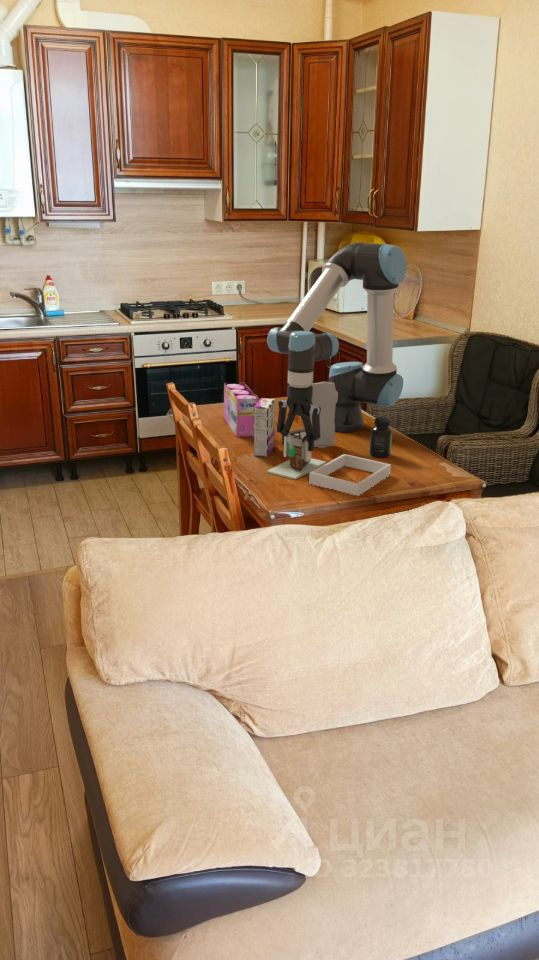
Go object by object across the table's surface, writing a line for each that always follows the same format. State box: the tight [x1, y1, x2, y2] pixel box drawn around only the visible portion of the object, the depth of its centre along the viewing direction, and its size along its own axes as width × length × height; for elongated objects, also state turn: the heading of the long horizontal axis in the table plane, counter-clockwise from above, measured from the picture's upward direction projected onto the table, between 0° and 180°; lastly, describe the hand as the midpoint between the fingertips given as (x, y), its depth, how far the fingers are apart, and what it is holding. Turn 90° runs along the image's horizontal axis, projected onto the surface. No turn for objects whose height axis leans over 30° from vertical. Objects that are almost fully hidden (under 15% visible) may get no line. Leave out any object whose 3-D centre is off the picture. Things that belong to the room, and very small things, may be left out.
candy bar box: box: [253, 397, 276, 458], centre depth 250 cm, size 11×5×16 cm, turn 168°
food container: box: [287, 428, 310, 470], centre depth 237 cm, size 12×6×10 cm, turn 161°
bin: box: [308, 453, 392, 497], centre depth 230 cm, size 21×16×4 cm
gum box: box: [223, 381, 260, 438], centre depth 276 cm, size 24×8×14 cm, turn 15°
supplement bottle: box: [368, 417, 393, 459], centre depth 250 cm, size 7×7×12 cm
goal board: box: [266, 457, 326, 480], centre depth 239 cm, size 18×10×1 cm, turn 146°
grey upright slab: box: [309, 381, 338, 449], centre depth 255 cm, size 11×4×22 cm, turn 106°
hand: (297, 458), depth 238 cm, fingers closed on food container, 7 cm apart
